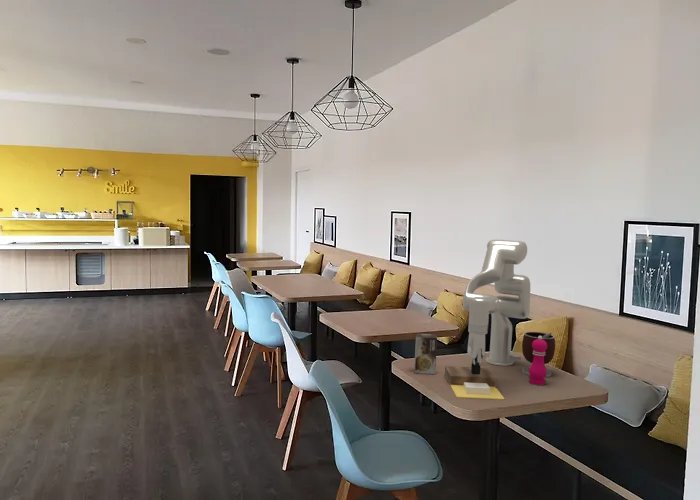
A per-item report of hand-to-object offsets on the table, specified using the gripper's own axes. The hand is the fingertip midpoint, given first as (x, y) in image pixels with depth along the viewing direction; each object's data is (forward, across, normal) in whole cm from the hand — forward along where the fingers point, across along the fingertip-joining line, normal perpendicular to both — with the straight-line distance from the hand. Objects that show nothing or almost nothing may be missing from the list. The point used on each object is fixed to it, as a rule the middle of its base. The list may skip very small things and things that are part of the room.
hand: (475, 373), depth 219 cm
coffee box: (+7, -20, -17) cm, 28 cm away
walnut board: (+6, -9, 0) cm, 11 cm away
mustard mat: (+6, +5, 0) cm, 8 cm away
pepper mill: (+7, -11, +29) cm, 32 cm away
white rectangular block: (+4, +5, 0) cm, 6 cm away
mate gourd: (+7, -25, +34) cm, 43 cm away
